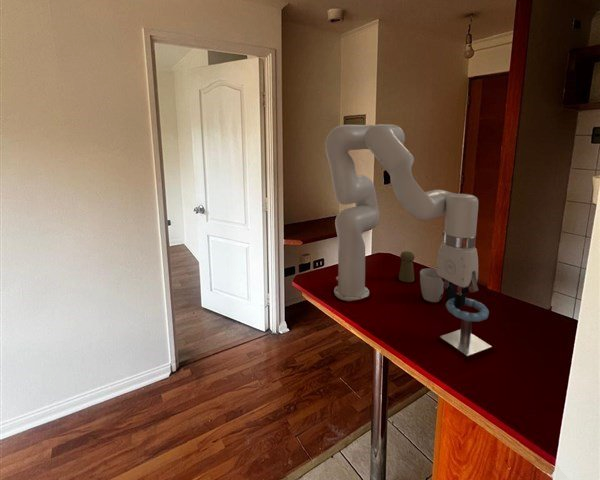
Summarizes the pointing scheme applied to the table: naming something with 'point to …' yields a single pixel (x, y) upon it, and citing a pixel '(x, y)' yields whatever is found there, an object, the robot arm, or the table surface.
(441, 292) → the cup
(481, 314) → the ring
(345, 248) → the robot arm
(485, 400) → the table surface
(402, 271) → the cork
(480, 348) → the post
